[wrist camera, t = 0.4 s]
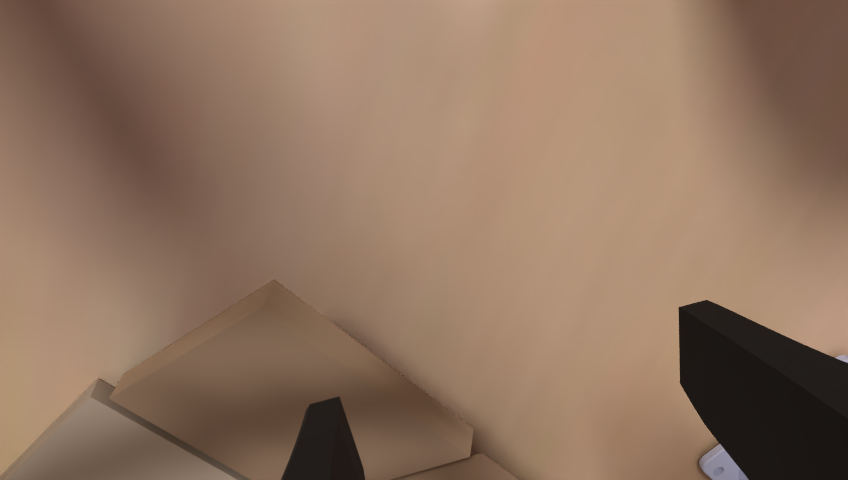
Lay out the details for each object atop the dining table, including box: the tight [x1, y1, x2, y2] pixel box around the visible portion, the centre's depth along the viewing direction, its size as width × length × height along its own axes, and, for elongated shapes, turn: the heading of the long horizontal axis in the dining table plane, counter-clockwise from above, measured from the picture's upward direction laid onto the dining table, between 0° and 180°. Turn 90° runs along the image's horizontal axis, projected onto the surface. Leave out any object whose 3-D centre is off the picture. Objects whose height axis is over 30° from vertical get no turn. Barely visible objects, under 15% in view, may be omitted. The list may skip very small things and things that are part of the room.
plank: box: [109, 279, 474, 480], centre depth 22 cm, size 8×9×1 cm
